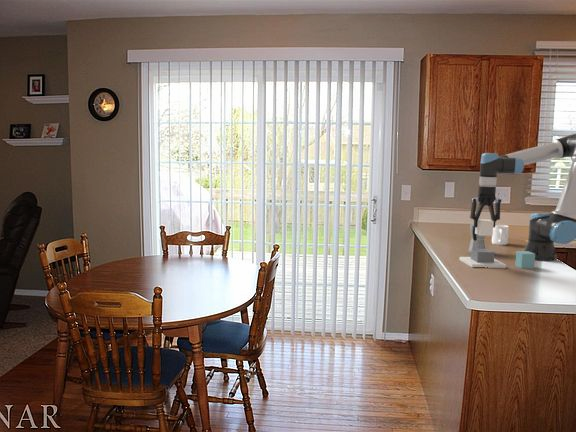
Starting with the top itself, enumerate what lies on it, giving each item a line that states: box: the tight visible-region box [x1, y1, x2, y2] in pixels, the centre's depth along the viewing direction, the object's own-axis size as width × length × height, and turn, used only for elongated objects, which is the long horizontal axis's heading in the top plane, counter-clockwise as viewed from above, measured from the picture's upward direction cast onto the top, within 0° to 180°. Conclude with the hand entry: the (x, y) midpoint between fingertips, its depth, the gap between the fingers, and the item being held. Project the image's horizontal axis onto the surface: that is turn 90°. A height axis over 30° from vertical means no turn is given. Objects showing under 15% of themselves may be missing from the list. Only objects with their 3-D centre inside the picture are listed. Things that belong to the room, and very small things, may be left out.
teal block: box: [514, 250, 536, 270], centre depth 231 cm, size 6×6×7 cm
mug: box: [491, 224, 510, 246], centre depth 286 cm, size 9×12×11 cm
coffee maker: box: [468, 223, 486, 253], centre depth 262 cm, size 15×9×18 cm, turn 144°
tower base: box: [459, 248, 507, 269], centre depth 236 cm, size 16×16×6 cm
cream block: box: [478, 218, 494, 237], centre depth 234 cm, size 6×6×7 cm
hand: (483, 234), depth 234 cm, fingers closed on cream block, 6 cm apart
